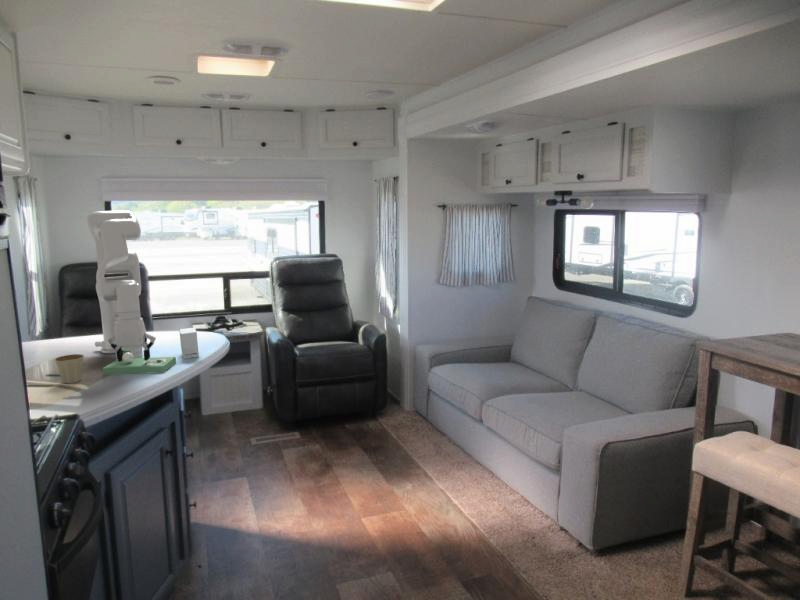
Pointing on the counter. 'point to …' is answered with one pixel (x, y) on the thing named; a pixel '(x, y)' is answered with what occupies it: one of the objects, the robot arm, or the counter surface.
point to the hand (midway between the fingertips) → (133, 360)
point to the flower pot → (70, 367)
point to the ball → (127, 357)
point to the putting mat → (140, 366)
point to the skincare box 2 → (189, 342)
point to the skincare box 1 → (130, 348)
